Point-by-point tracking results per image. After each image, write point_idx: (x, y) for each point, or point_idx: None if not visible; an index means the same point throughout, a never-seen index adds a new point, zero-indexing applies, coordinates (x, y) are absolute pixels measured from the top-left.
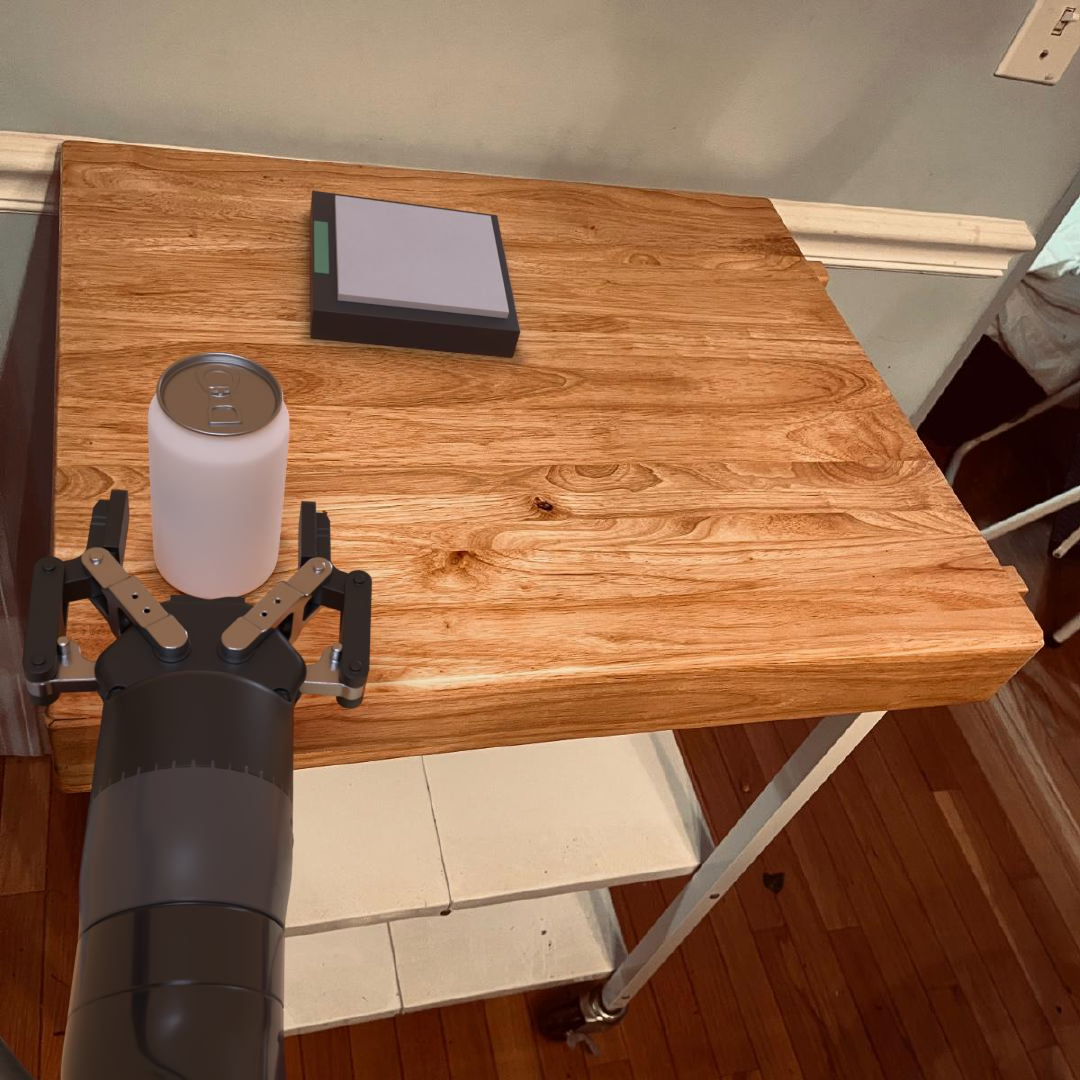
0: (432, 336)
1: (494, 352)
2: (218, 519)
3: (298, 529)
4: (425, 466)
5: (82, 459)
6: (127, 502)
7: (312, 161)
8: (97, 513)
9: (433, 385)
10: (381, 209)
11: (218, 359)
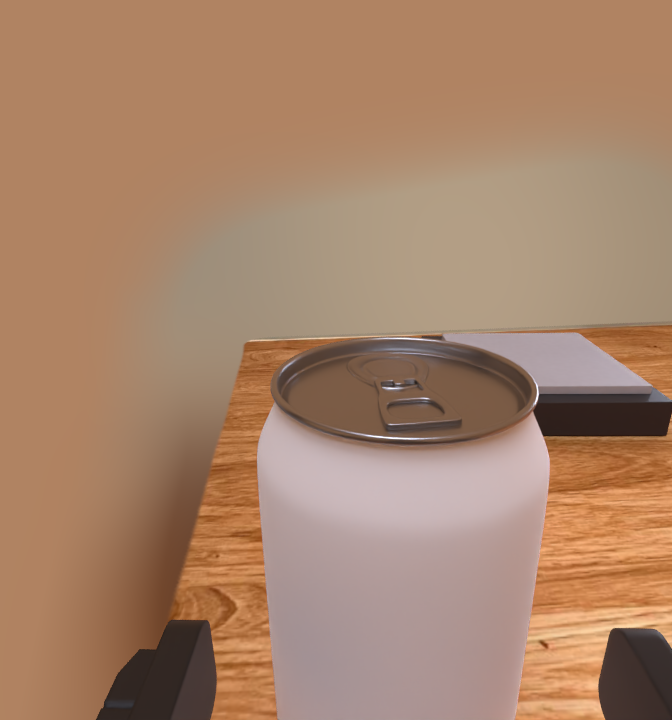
0: (575, 419)
1: (645, 431)
2: (415, 690)
3: (602, 707)
4: (651, 561)
5: (202, 578)
6: (205, 653)
7: (413, 335)
8: (121, 692)
9: (598, 466)
10: (483, 337)
11: (383, 350)
